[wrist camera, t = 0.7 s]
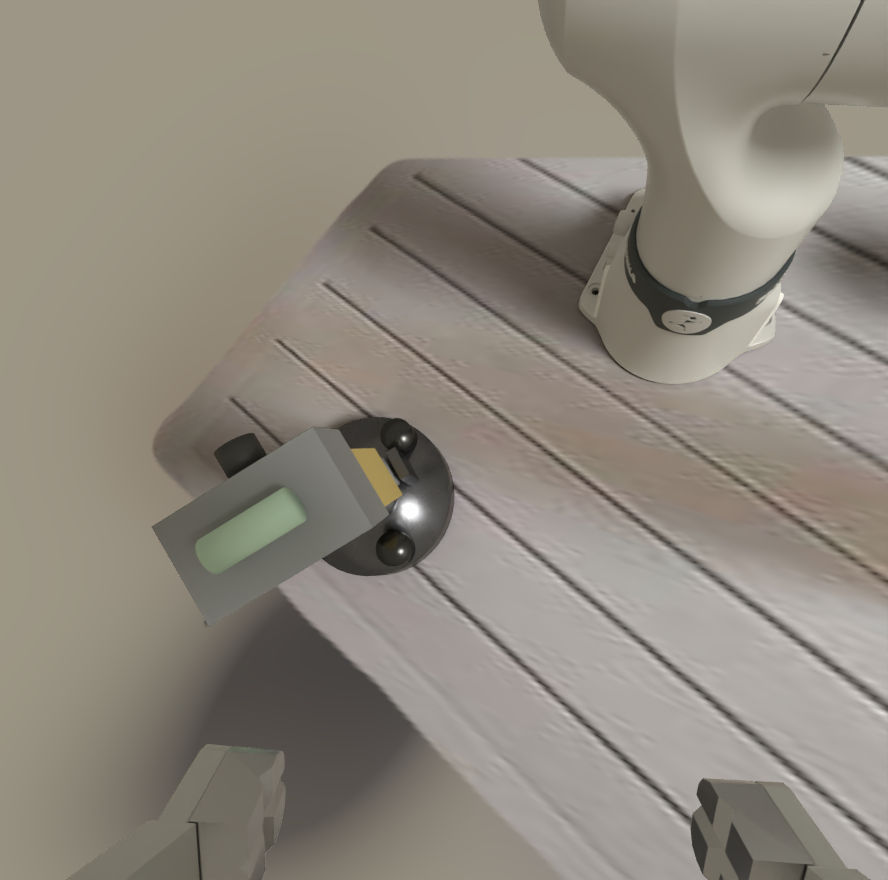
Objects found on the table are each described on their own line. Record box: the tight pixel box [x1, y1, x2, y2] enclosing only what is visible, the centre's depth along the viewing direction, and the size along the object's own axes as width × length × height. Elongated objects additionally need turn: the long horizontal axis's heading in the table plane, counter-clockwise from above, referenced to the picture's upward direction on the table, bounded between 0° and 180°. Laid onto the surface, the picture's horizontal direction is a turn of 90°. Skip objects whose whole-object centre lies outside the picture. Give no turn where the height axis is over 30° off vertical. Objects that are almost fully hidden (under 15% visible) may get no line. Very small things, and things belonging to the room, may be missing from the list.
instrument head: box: [152, 427, 403, 626], centre depth 37 cm, size 8×10×26 cm
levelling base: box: [322, 417, 454, 576], centre depth 51 cm, size 16×16×7 cm
